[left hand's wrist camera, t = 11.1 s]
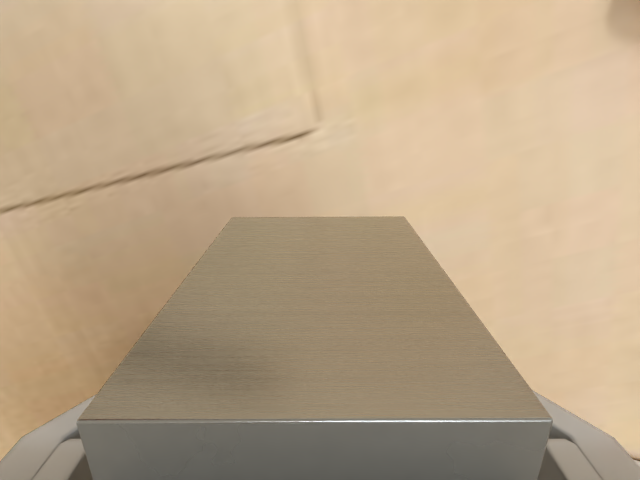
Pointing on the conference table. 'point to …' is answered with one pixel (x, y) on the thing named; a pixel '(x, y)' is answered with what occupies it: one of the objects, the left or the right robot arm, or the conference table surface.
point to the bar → (316, 368)
